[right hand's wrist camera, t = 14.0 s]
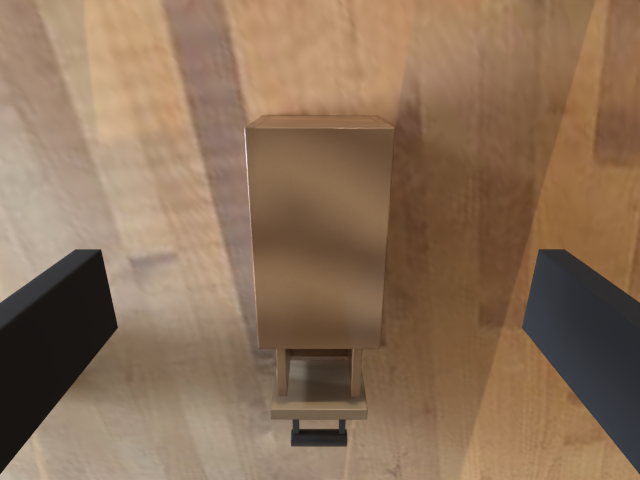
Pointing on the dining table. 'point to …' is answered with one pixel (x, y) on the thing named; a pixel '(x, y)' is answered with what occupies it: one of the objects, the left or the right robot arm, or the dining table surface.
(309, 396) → the drawer
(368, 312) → the cabinet
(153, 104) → the dining table surface
